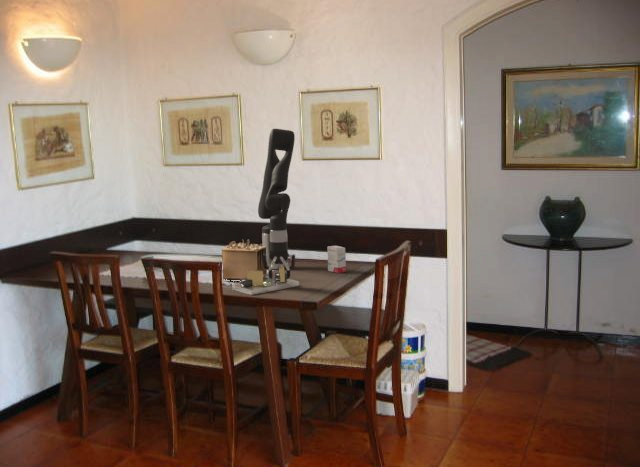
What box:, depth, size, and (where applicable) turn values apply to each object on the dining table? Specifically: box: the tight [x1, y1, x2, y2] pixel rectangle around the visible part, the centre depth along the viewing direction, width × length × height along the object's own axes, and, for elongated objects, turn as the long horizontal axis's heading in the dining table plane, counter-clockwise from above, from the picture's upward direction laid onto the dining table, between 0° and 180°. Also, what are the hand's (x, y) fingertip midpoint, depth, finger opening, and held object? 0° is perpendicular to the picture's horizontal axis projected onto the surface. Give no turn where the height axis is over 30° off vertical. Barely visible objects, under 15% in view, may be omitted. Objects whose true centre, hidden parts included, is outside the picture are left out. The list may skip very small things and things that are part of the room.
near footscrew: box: [240, 270, 263, 287], centre depth 307 cm, size 9×5×6 cm, turn 90°
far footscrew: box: [274, 265, 287, 282], centre depth 316 cm, size 9×5×6 cm, turn 8°
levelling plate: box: [231, 276, 300, 296], centre depth 312 cm, size 14×25×5 cm, turn 130°
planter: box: [221, 238, 269, 281], centre depth 329 cm, size 25×25×19 cm
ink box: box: [326, 245, 347, 274], centre depth 344 cm, size 9×5×12 cm, turn 33°
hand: (279, 278), depth 314 cm, fingers open, 6 cm apart
